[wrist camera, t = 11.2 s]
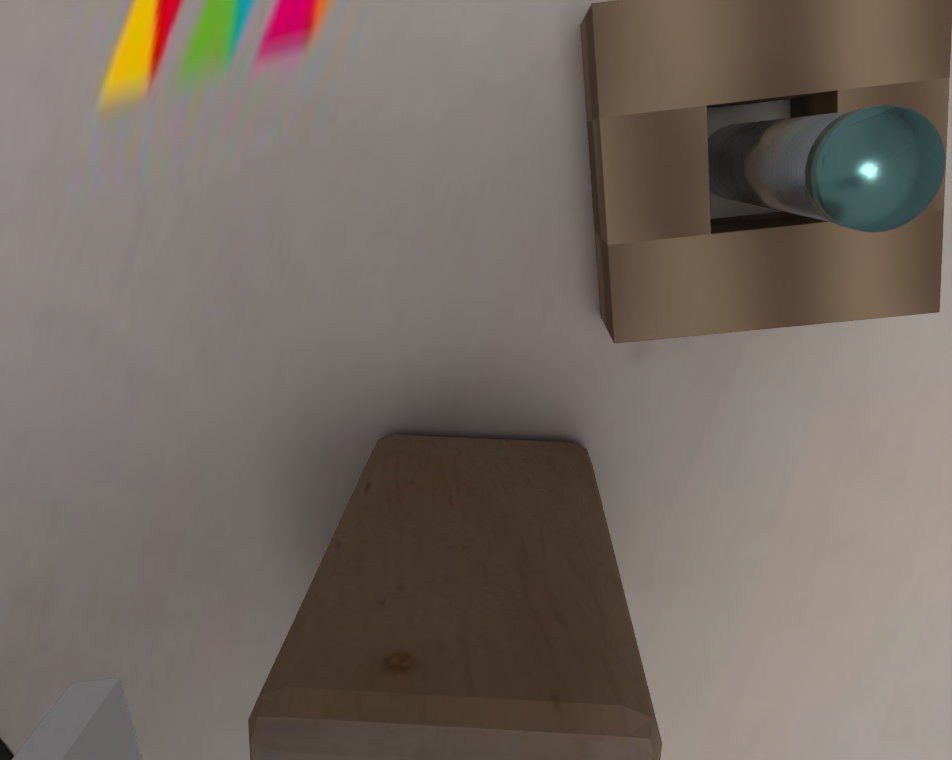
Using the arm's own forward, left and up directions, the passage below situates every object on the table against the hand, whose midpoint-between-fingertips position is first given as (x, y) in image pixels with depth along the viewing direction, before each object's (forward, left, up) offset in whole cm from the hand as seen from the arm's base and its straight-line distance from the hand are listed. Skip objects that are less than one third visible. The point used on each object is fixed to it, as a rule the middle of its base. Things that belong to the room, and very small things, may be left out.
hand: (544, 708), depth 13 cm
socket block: (+10, +7, -25) cm, 27 cm away
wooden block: (-3, -9, -25) cm, 27 cm away
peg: (+9, +7, -25) cm, 27 cm away
